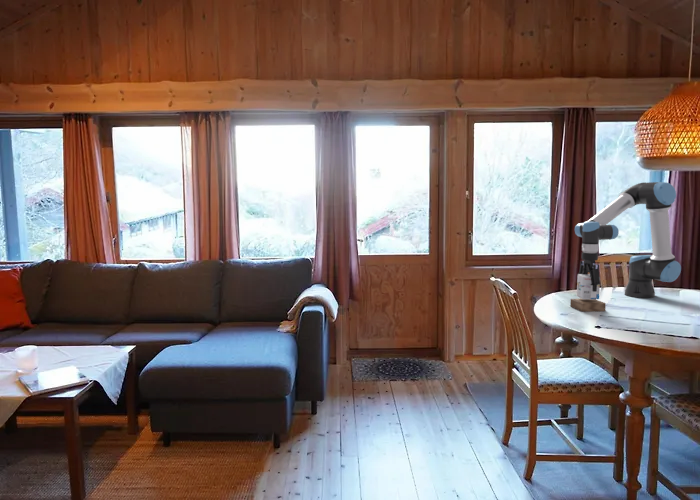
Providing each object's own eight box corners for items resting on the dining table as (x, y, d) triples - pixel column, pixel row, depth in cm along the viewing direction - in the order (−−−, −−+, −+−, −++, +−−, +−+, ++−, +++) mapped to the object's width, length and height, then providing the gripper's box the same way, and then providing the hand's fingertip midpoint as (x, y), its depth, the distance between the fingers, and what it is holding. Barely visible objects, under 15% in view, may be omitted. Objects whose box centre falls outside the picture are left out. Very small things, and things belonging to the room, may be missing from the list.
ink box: (593, 295, 269) (594, 273, 267) (599, 299, 260) (600, 276, 259) (576, 295, 269) (577, 273, 268) (582, 299, 261) (582, 276, 260)
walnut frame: (592, 305, 272) (592, 297, 271) (605, 311, 260) (605, 302, 259) (570, 306, 271) (570, 298, 270) (582, 311, 259) (582, 303, 258)
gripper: (571, 249, 272) (570, 291, 275) (594, 254, 251) (592, 300, 254) (585, 249, 273) (583, 291, 276) (609, 254, 251) (607, 300, 254)
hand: (587, 295), depth 265 cm, fingers closed on ink box, 9 cm apart
